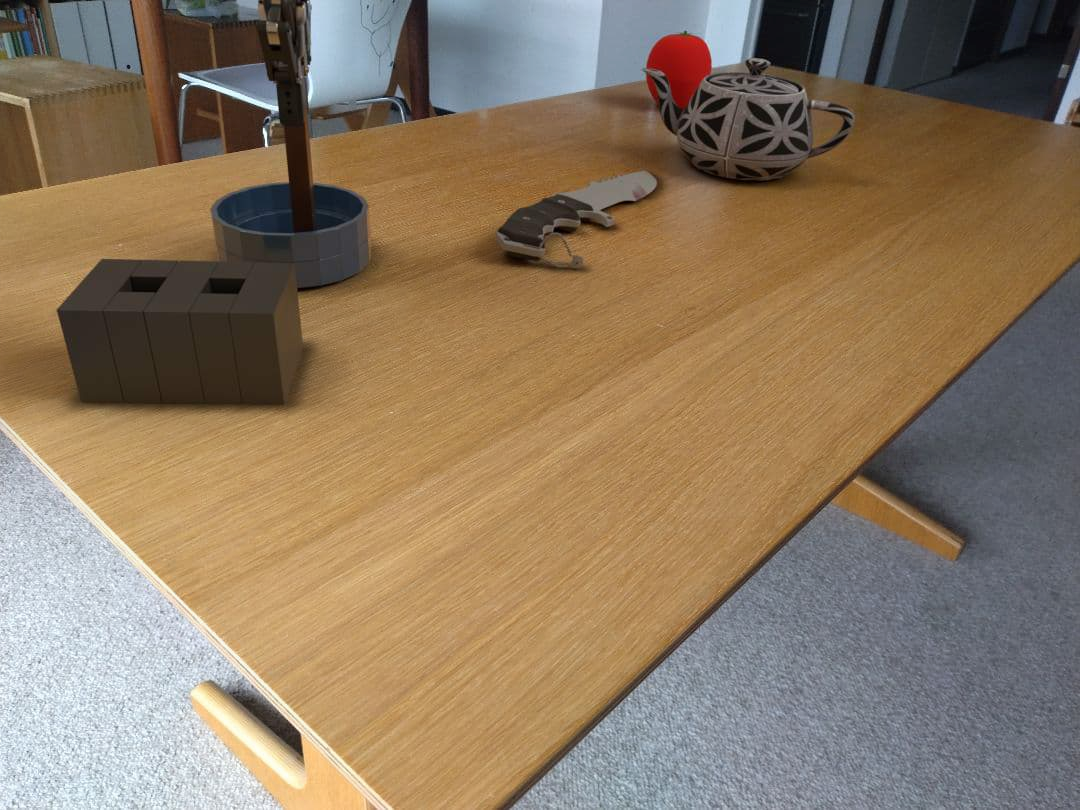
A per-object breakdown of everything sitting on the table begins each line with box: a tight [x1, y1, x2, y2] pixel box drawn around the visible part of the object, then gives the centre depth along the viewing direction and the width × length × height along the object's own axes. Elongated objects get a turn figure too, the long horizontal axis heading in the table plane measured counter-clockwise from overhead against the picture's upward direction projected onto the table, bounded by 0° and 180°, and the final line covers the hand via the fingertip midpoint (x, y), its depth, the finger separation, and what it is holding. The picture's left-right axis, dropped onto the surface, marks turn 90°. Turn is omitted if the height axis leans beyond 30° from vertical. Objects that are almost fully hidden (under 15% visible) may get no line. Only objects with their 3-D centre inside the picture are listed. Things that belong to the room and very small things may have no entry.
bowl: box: [209, 181, 372, 289], centre depth 89 cm, size 15×15×6 cm
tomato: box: [645, 30, 713, 110], centre depth 152 cm, size 11×11×13 cm
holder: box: [56, 258, 304, 406], centre depth 69 cm, size 15×9×8 cm, turn 94°
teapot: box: [640, 57, 856, 182], centre depth 124 cm, size 19×31×15 cm, turn 68°
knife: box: [494, 169, 658, 270], centre depth 106 cm, size 36×10×4 cm, turn 159°
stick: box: [280, 63, 317, 233], centre depth 85 cm, size 2×2×18 cm
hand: (294, 120), depth 83 cm, fingers closed on stick, 2 cm apart
